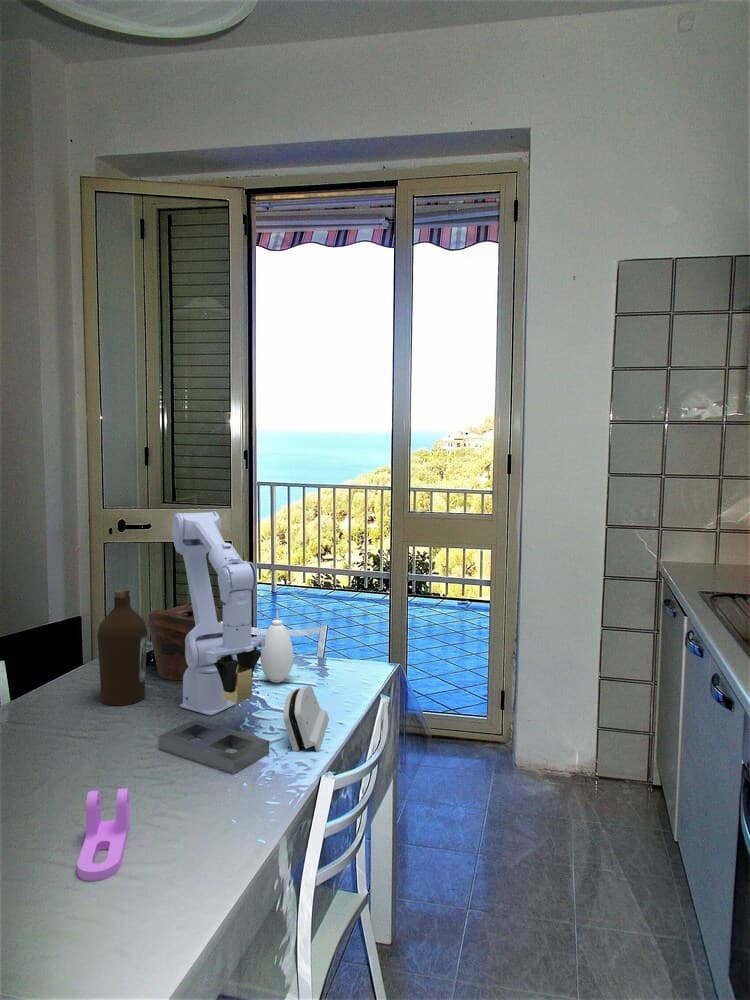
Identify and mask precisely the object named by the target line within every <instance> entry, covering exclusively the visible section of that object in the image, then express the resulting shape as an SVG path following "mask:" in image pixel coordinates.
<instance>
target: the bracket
mask: <svg viewBox="0 0 750 1000" xmlns="http://www.w3.org/2000/svg"><path fill="white" fill-rule="evenodd" d="M100 791H101V790H89V791H88V793H87V797H86V803H85V829H86V831H85V832H86V834H85V838H84V841H83V844H82V847H81V851H80V853H79V857H78V859H77V862H76V863H77V864H76V869H77V871H76V872H77V876H78V878H80V879H81V880H84V881H89V882H95V881H101V880H104V879H107V878H110V877H112V876H113V875H115V874H117V872H118V871H119V870H120V869H121V865H122V861H123V858H124V857H123V856H124V853H125V848H126V843H127V839H128V835H129V830H130V821H131V820H130V818H131V817H130V814H131V813H130V788H129V787H127V788H123V787H122V788H118V789H117V792H116V793H117V794H116V803H115V806H116V809H115V812H116V813H115V814H116V815H115V816H116V819H111V820H101V792H100ZM102 850H108V851H107V855H106V859H105V860H104V861H103V862H99V863H95V860H96V857H97V854H98V852H100V851H102Z"/></svg>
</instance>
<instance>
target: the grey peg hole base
mask: <svg viewBox="0 0 750 1000" xmlns="http://www.w3.org/2000/svg"><path fill="white" fill-rule="evenodd" d="M196 737H197V738H200V740H198V741H194V740H192V739H194V738H196ZM157 748H158V750H161V751H164V752H166V753H170V754H173V755H175V756H179V757H181V758H185V759H187V760H190V761H193V762H196V763H199V764H202V765H205V766H208V767H211V768H213V769H216V770H220V771H223V772H225V773H226V772H227V773H229V774H232V775H235V774H236V773H238V772H240V771H241V770H243V769H245V768H247V767H248V766H250V765H252V764H254V763H255V762H257V761H258V760H260V759H262V758H264V757H265V756H267V755H269V754H270V740H268V739H265V738H262V737H259V736H255V735H251V734H249V733H246V732H242V731H240V730H239V731H238V730H236V729H231V728H228V727H224V726H222V725H217V724H214V723H212V722H208V721H205V720H201V719H198V718H194V719H192V720H190V721H188V722H186V723H184V724H182V725H179V726H177V727H175V728H172V729H171V730H169V731H168V730H167V732H164V733H162V734H160V735H157ZM229 748H230V749H231V748H232V749H235V750H237V751H235V752H233V753H232V752H230V751H225V750H227V749H229Z"/></svg>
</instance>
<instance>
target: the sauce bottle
mask: <svg viewBox="0 0 750 1000" xmlns="http://www.w3.org/2000/svg"><path fill="white" fill-rule="evenodd" d="M275 616H276V617H275V619H274V620H271V625H270V626H269V628H268V629H267V631H266V632H265V634H264V637H265V646H264V647H260V651H261V656H260V658H259V660H260V666H261V670H262V672H263V675H264V676H265V678H267V679H268V680H269V682H272V683H274V684H279V683H281V682H283V681H284V680H285V679H286V678H287V677H289V674H290V673H291V671H292V668H293V665H294V648H293V643H292V639H291V637H290V634H289V631H288V630H287V628H286V626H284V622H283V620H281V619H279V611H278V610H276V615H275Z"/></svg>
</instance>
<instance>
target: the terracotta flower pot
mask: <svg viewBox="0 0 750 1000" xmlns="http://www.w3.org/2000/svg"><path fill="white" fill-rule="evenodd" d="M214 605H215V611H216V616H217V621H218V622H219V623H221V624H222V621H221V615H220V614H221V613H220V610H219V608H218V606H216V604H214ZM147 616H148V617H147V618H148V621H147V623H148V624H147V628H149V629H148V632H149V635H150V639H151V643H152V649H153V652H154V657H155V663H156V669H157V673H158V675H159V676H160V678H162V679H165V680H171V681H183V676H184V673H185V671H186V669H187V668H188V667H189V666H188V665H187V662H186V657H185V648H186V647H185V638H186V636H187V634H188V633H189V632H190V631H191V630H192V629H193V628H194V627H195V620H194V614H193V608H192V602H191V601H190V603H186V604H184V605H179V606H175V607H172V608H169V609H164V610H161V609H159V610H157V609H156V610H150V611H149V612H148V615H147ZM208 639H209V638H208ZM201 640H202V639H201Z"/></svg>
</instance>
